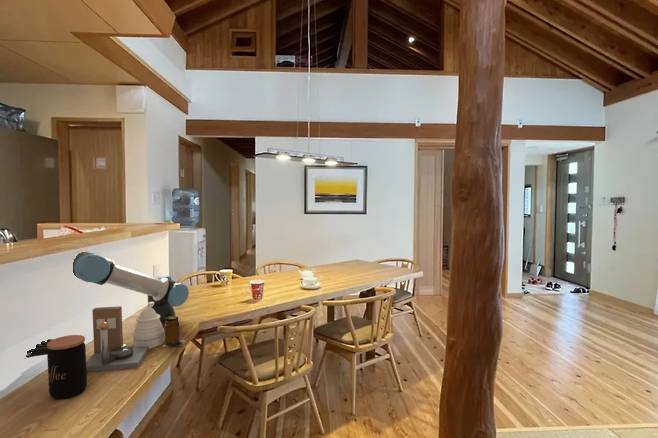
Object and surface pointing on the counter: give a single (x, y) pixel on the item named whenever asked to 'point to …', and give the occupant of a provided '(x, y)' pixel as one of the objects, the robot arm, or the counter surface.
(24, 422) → the counter surface
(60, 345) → the coffee jar
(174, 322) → the condiment
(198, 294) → the counter surface
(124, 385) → the counter surface
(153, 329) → the honey pot
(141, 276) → the robot arm
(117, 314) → the stand
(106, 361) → the ball top joystick
